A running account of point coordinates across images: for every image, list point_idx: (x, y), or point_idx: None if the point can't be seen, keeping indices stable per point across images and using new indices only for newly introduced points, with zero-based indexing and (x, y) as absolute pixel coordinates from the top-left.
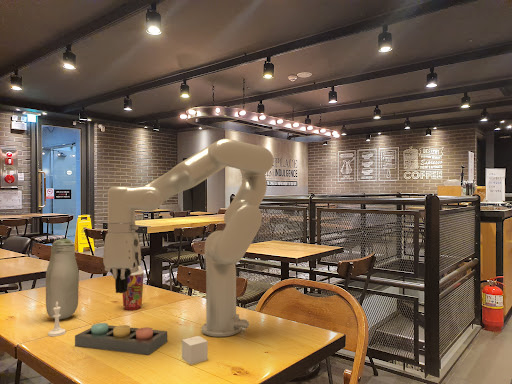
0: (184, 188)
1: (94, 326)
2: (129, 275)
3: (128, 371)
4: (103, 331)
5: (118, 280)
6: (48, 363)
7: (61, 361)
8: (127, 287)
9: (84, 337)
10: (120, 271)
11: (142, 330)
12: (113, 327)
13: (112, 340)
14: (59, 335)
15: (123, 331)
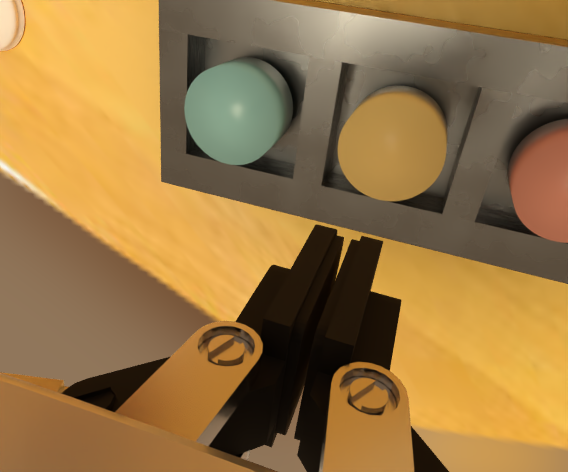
0: None
1: (207, 133)
2: (424, 454)
3: (545, 397)
4: (276, 140)
5: (288, 425)
6: (206, 312)
7: (238, 301)
8: (399, 301)
9: (216, 192)
10: (209, 426)
11: (561, 198)
12: (288, 34)
13: (383, 236)
14: (22, 33)
15: (420, 191)
